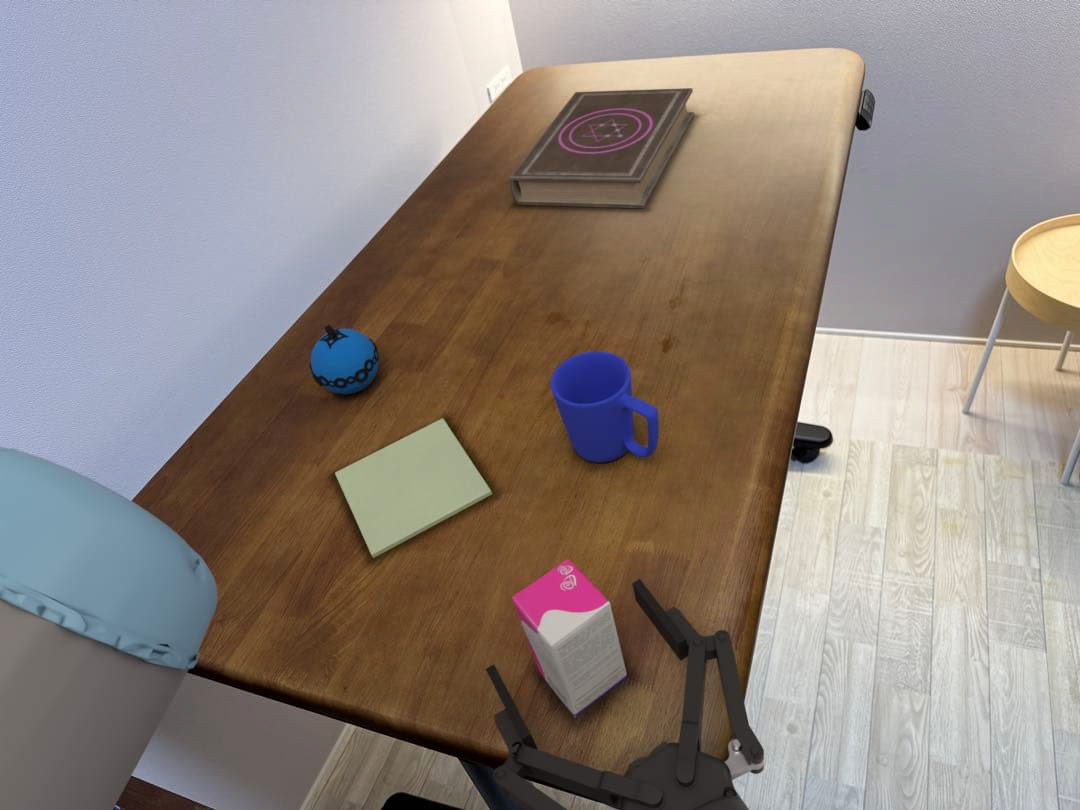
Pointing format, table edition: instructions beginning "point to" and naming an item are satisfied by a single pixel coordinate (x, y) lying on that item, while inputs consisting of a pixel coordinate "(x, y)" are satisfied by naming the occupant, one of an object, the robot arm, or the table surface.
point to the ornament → (344, 361)
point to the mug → (601, 407)
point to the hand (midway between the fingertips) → (567, 630)
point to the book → (604, 149)
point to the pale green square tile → (410, 486)
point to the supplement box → (571, 636)
